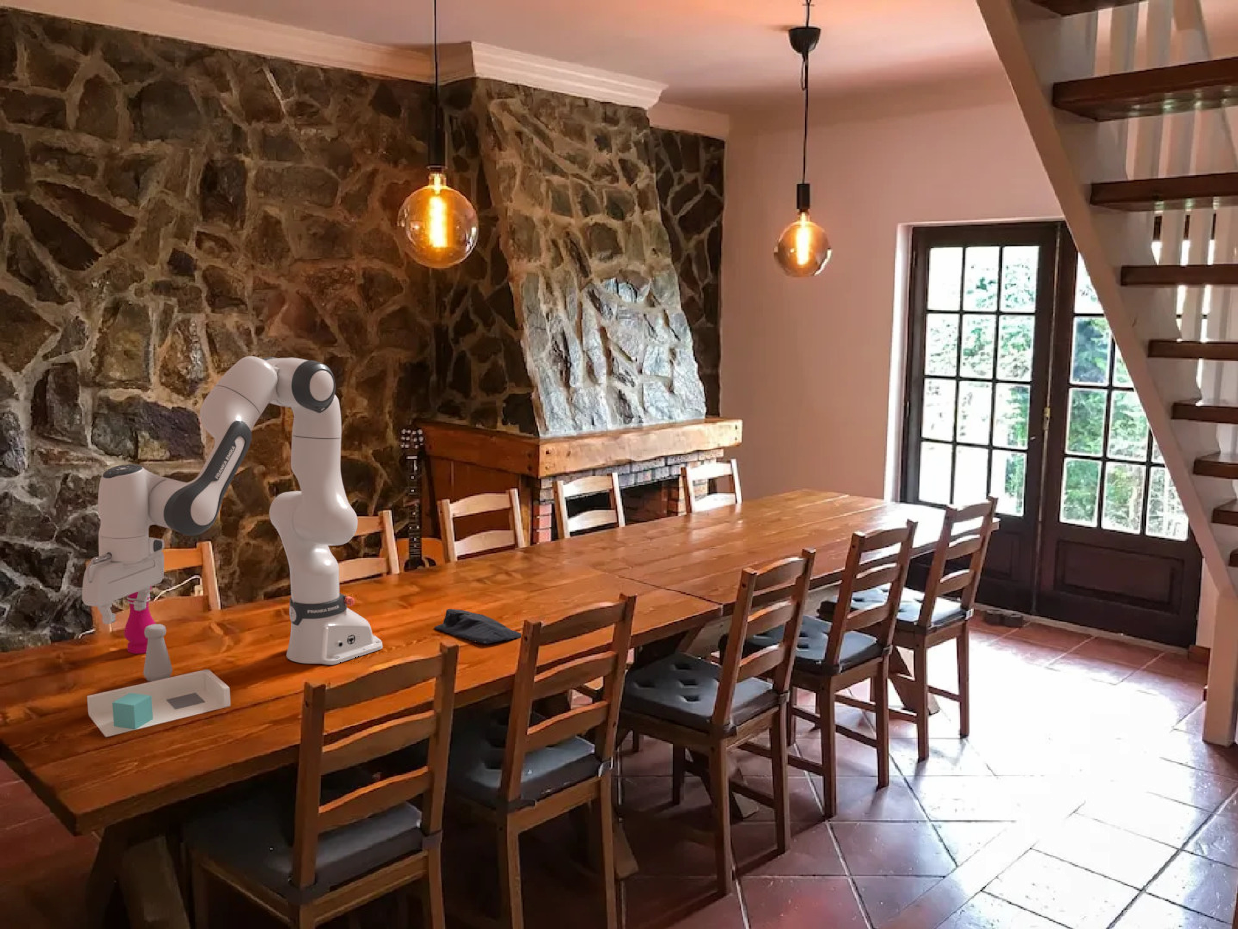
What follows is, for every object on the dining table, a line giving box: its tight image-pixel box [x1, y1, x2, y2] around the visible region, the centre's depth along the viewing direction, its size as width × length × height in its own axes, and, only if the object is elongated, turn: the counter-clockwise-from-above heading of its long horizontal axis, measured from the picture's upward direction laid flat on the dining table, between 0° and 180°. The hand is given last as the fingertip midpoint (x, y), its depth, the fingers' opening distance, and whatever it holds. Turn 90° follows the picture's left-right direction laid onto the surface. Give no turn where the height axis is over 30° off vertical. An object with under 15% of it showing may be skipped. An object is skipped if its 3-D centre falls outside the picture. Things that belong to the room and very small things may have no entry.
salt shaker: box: [142, 623, 173, 682], centre depth 226 cm, size 6×6×13 cm
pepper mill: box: [123, 586, 157, 655], centre depth 245 cm, size 7×7×20 cm
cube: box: [112, 693, 153, 730], centre depth 204 cm, size 5×5×5 cm
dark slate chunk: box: [434, 608, 522, 645], centre depth 263 cm, size 15×22×5 cm
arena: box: [86, 669, 231, 738], centre depth 210 cm, size 24×13×5 cm, turn 130°
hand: (124, 616), depth 202 cm, fingers open, 8 cm apart
